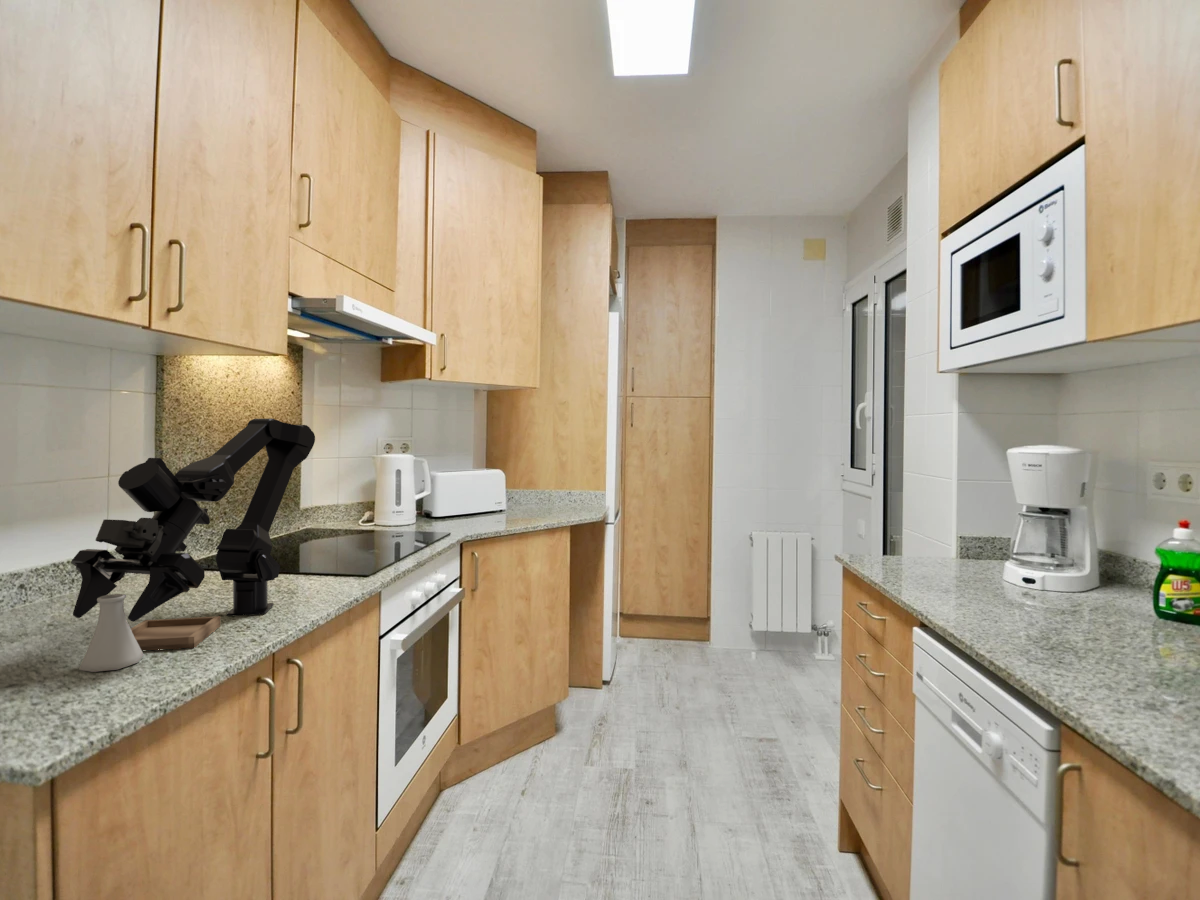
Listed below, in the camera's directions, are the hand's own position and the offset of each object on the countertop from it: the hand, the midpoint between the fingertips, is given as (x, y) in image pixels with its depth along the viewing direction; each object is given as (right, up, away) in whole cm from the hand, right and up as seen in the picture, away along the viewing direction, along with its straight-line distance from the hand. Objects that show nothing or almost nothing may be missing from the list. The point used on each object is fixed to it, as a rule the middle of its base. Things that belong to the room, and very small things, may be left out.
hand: (102, 618), depth 90 cm
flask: (0, -7, +2) cm, 7 cm away
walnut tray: (+1, -7, +13) cm, 15 cm away
